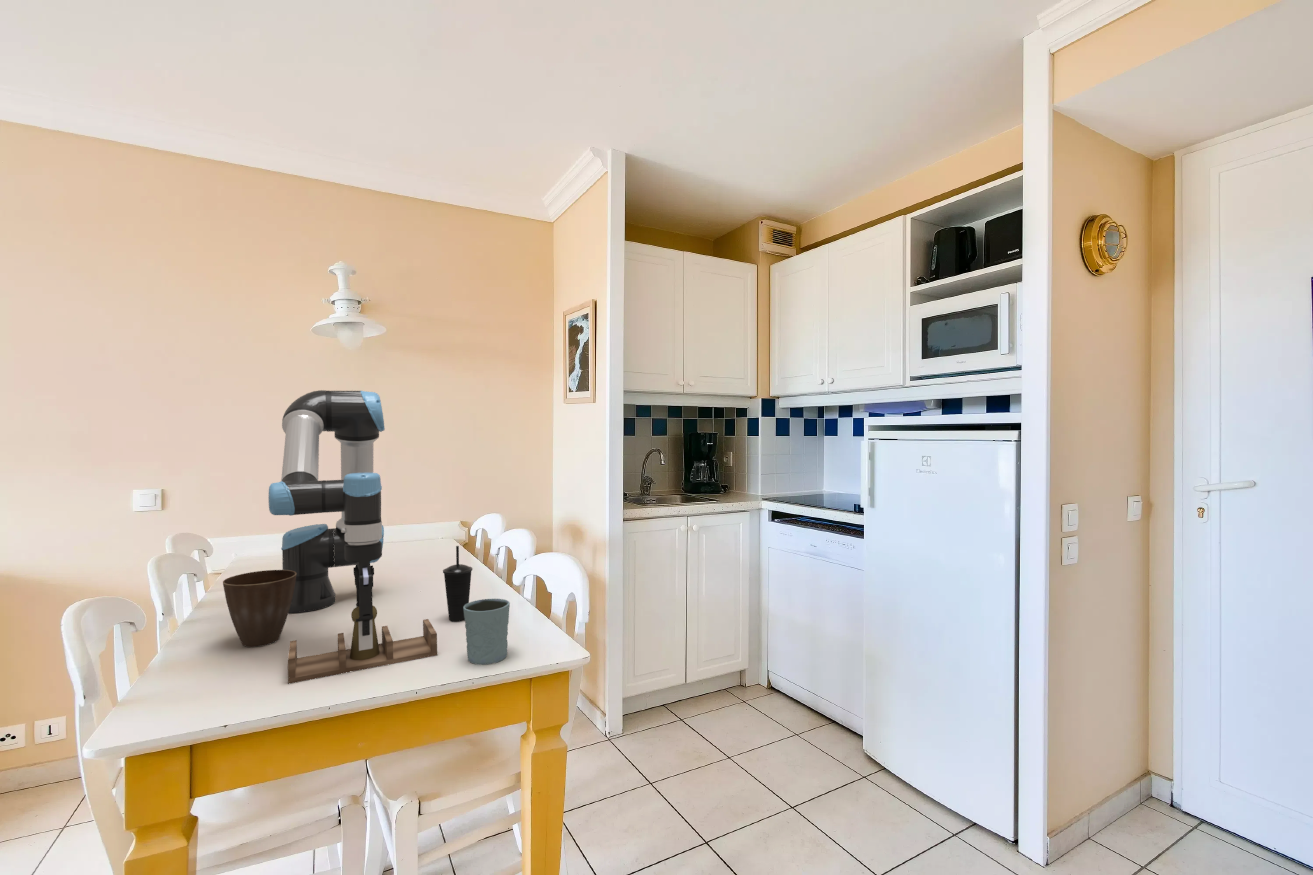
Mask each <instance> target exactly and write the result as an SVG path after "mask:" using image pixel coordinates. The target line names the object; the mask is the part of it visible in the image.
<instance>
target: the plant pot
mask: <svg viewBox="0 0 1313 875" xmlns="http://www.w3.org/2000/svg"><path fill="white" fill-rule="evenodd" d="M296 574H297V573H296V572H295V571H291V570H283V569H269V570H257V571H252V572H251V571H250V572H246V573H245V572H244V573H240V574H235V575H233V576H229V577H227V578H225V579H223V580H222V585H223V591H224V597H225V600H226V604H227V605H226V606H227V609H228V613H229V616H230V619H231V621H232V624H233V627H234V629H235V632H236V634H237V637H238V639H239V640H240V643H241V644H242V646H243V647H247V648H254V647H263V646H267V644H268V645H270V643H271V644H273V643H275V641H276V642H277V641H278V640H280V637H281V634H282V633H283V629H284V627H285V624H286V622H287V618H288V615H289V613H288V612H289V609H290V605H291V601H292V597H293V592H294V587H295V581H296Z"/></svg>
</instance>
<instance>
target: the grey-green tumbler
mask: <svg viewBox="0 0 1313 875" xmlns="http://www.w3.org/2000/svg"><path fill="white" fill-rule="evenodd" d="M510 604H511V602H510V601H509V600H507V599H503V598H483V599H477V600H473V601H469V603H467V604H466V605H464V607H463V609H464V618H465V620H464V623H465V624H464V627H465V637H466V639H465V640H466V641H465V642H466V654H467V661H468V662H469V663H471V664H474V665H480V666H481V665H482V666H484V665H492V664H496V663H500V662H502V661H503V660H505V659H506V658H507V655H508V647H509V646H508V642H509V641H508V635H509V633H508V631H509V627H508V626H509V619H510Z"/></svg>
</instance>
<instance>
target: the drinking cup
mask: <svg viewBox="0 0 1313 875" xmlns="http://www.w3.org/2000/svg"><path fill="white" fill-rule="evenodd" d="M455 550H456V551H455V552H456V553H455V554H456V555H455V557H456V559H455V561H456V564H453V565H450V566H448V567H446V568H443V570H442V574H443V576H444V585H445V593H446V594H445V595H446V604H447V612H448V614H447V615H448V621H449V622H452V623H457V622H458V623H460V622H465V618H464V609H463V607H464V605H466V604H467V603H470V594H471V580H472V571H473V567H471V566H469V565H467V564H463V563H462V564H461V563H460V547H459V545H456V546H455Z"/></svg>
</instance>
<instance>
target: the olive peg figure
mask: <svg viewBox="0 0 1313 875" xmlns="http://www.w3.org/2000/svg"><path fill="white" fill-rule="evenodd" d="M350 615H351V620H352V622H353V627H352V629H353V630H352V638H351V644H350V649H351V652H350V659H352V660H365V659H370V658H373V657H375V656H377V655H379V653H380V651H379V645H378V644H379V640H378V633H377V628H376V620H375V619H376V618H377V616H378V610H377V607H376V606H375V605H373V619H372V630H373V648H372V649H366V650H360V651H359V624H358V622H356V619H359V606H358V607H356V606H355V607H354V608H353V610H352V611H351V614H350Z"/></svg>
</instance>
